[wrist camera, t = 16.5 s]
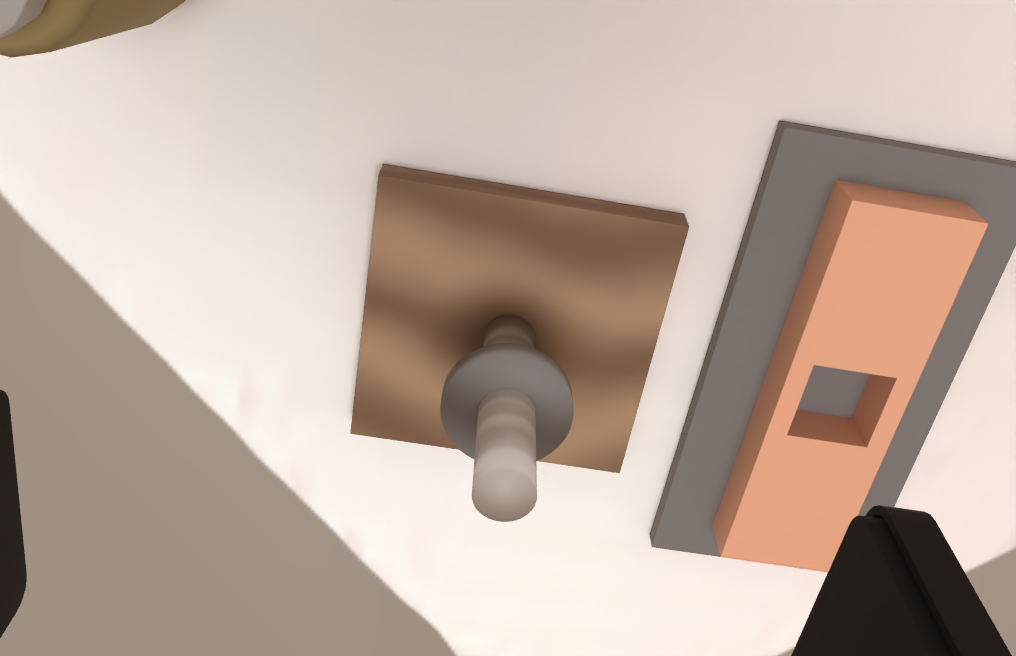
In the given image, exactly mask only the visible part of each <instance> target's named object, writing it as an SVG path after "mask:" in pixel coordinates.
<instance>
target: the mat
mask: <svg viewBox="0 0 1016 656" xmlns="http://www.w3.org/2000/svg"><path fill="white" fill-rule="evenodd" d="M835 180H841V181H847V182H853V183H858V184H864V185H870V186H876V187H881V188H887V189H893V190H899V191H905V192H910V193H916V194H922V195H928V196H933V197H939V198H945V199H951V200H956V201H962V202H965V203H967V204H968V205H969V206H970V207H971V208H972V209H973V210H974V211H975V212H976V213H977V214H979V215H980V216H981V217H982V218H983V219H984V220H985V221H986V222H987V223H988V226H987V228H986V231H985V233H984V235H983V237H982V240H981V242H980V244H979V246H978V248H977V251H976V253H975V255H974V257H973V260H972V262H971V264H970V266H969V269H968V271H967V273H966V275H965V277H964V280H963V282H962V284H961V286H960V289H959V291H958V293H957V295H956V298H955V300H954V302H953V304H952V306H951V309H950V311H949V313H948V315H947V318H946V320H945V322H944V324H943V326H942V329H941V331H940V333H939V335H938V338H937V340H936V342H935V344H934V347H933V349H932V351H931V353H930V355H929V358H928V360H927V362H926V364H925V367H924V369H923V371H922V373H921V376H920V378H919V380H918V382H917V384H916V387H915V389H914V391H913V393H912V396H911V398H910V400H909V402H908V404H907V407H906V409H905V411H904V413H903V416H902V418H901V420H900V422H899V425H898V427H897V429H896V431H895V433H894V436H893V438H892V440H891V442H890V445H889V447H888V449H887V451H886V454H885V456H884V458H883V460H882V462H881V465H880V467H879V469H878V471H877V474H876V476H875V478H874V480H873V482H872V485H871V487H870V489H869V491H868V494H867V496H866V498H865V500H864V503H863V505H862V507H861V509H860V511H859V514H858V516H859V515H861V516H866V514H867V512H868V511H869V510H870V509H871V508H872V507H873V506H878V505H881V506H888V507H894V506H895V504H896V502H897V499H898V497H899V495H900V493H901V491H902V489H903V486H904V484H905V482H906V480H907V478H908V476H909V474H910V471H911V469H912V467H913V465H914V463H915V461H916V459H917V456H918V454H919V452H920V450H921V448H922V446H923V444H924V441H925V439H926V437H927V435H928V433H929V431H930V429H931V426H932V424H933V422H934V420H935V418H936V416H937V413H938V411H939V409H940V407H941V405H942V403H943V401H944V398H945V396H946V394H947V392H948V390H949V388H950V386H951V383H952V381H953V379H954V377H955V375H956V373H957V371H958V368H959V366H960V364H961V362H962V360H963V358H964V355H965V353H966V351H967V349H968V347H969V345H970V343H971V340H972V338H973V336H974V334H975V332H976V330H977V328H978V325H979V323H980V321H981V319H982V317H983V315H984V313H985V310H986V308H987V306H988V304H989V302H990V300H991V297H992V295H993V293H994V291H995V289H996V287H997V285H998V282H999V280H1000V278H1001V276H1002V274H1003V272H1004V270H1005V267H1006V265H1007V263H1008V261H1009V259H1010V257H1011V255H1012V252H1013V250H1014V248H1015V246H1016V162H1014V161H1009V160H1003V159H997V158H991V157H986V156H980V155H974V154H968V153H963V152H957V151H951V150H945V149H940V148H934V147H928V146H922V145H917V144H911V143H905V142H899V141H894V140H888V139H882V138H876V137H871V136H865V135H859V134H853V133H848V132H842V131H836V130H830V129H825V128H819V127H813V126H807V125H802V124H796V123H790V122H784V121H779V124H778V127H777V131H776V134H775V137H774V140H773V143H772V147H771V150H770V153H769V156H768V159H767V163H766V166H765V169H764V172H763V175H762V178H761V182H760V185H759V188H758V191H757V194H756V198H755V201H754V204H753V207H752V210H751V214H750V217H749V220H748V223H747V226H746V230H745V233H744V236H743V239H742V242H741V245H740V249H739V252H738V255H737V258H736V261H735V265H734V268H733V271H732V274H731V277H730V281H729V284H728V287H727V290H726V293H725V297H724V300H723V303H722V306H721V309H720V312H719V316H718V319H717V322H716V325H715V328H714V332H713V335H712V338H711V341H710V344H709V348H708V351H707V354H706V357H705V360H704V364H703V367H702V370H701V373H700V376H699V379H698V383H697V386H696V389H695V392H694V395H693V399H692V402H691V405H690V408H689V411H688V415H687V418H686V421H685V424H684V427H683V431H682V434H681V437H680V440H679V443H678V446H677V450H676V453H675V456H674V459H673V462H672V466H671V469H670V472H669V475H668V478H667V482H666V485H665V488H664V491H663V494H662V498H661V501H660V504H659V507H658V510H657V513H656V517H655V520H654V523H653V526H652V529H651V533H650V539H651V545H652V547H655V548H662V549H669V550H676V551H683V552H691V553H698V554H705V555H712V556H719V557H721V556H720V552H719V548H718V545H717V541H716V537H715V533H714V529H713V522H714V519H715V516H716V514H717V511H718V508H719V505H720V502H721V499H722V497H723V494H724V491H725V488H726V485H727V483H728V480H729V477H730V474H731V471H732V469H733V466H734V463H735V460H736V457H737V455H738V452H739V449H740V446H741V443H742V441H743V438H744V435H745V432H746V429H747V427H748V424H749V421H750V418H751V415H752V413H753V410H754V407H755V404H756V401H757V399H758V396H759V393H760V390H761V387H762V384H763V382H764V379H765V376H766V373H767V370H768V368H769V365H770V362H771V359H772V356H773V354H774V351H775V348H776V345H777V342H778V340H779V337H780V334H781V331H782V328H783V326H784V323H785V320H786V317H787V314H788V312H789V309H790V306H791V303H792V300H793V298H794V295H795V292H796V289H797V286H798V284H799V281H800V278H801V275H802V272H803V269H804V267H805V264H806V261H807V258H808V255H809V253H810V250H811V247H812V244H813V241H814V239H815V236H816V233H817V230H818V227H819V225H820V222H821V219H822V216H823V213H824V211H825V208H826V205H827V202H828V199H829V197H830V194H831V191H832V188H833V185H834V183H835ZM869 375H870V374H868V373H862V372H855V371H849V370H843V369H837V368H830V367H824V366H818V365H814V366H813V368H812V371H811V374H810V376H809V379H808V381H807V384H806V387H805V389H804V392H803V395H802V397H801V400H800V402H799V405H798V408H797V410H802V411H809V412H815V413H822V414H828V415H834V416H841V417H847V418H852V416H853V414H854V411H855V409H856V406H857V404H858V402H859V399H860V397H861V394H862V392H863V390H864V387H865V385H866V382H867V380H868V378H869Z"/></svg>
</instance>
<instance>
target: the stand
mask: <svg viewBox="0 0 1016 656" xmlns="http://www.w3.org/2000/svg"><path fill="white" fill-rule="evenodd" d="M688 229H689V225H688V223H687V220H686V218H685V215H684V214H680V213H674V212H668V211H662V210H656V209H650V208H644V207H638V206H632V205H626V204H620V203H614V202H608V201H602V200H596V199H590V198H584V197H578V196H572V195H566V194H560V193H554V192H548V191H542V190H536V189H530V188H524V187H518V186H512V185H506V184H500V183H494V182H488V181H482V180H476V179H470V178H464V177H458V176H452V175H446V174H440V173H434V172H428V171H421V170H415V169H409V168H403V167H397V166H391V165H385V164H383V166H382V168H381V171H380V173H379V177H378V186H377V195H376V204H375V213H374V223H373V232H372V241H371V250H370V259H369V268H368V278H367V287H366V296H365V305H364V314H363V323H362V332H361V342H360V351H359V360H358V369H357V378H356V387H355V397H354V406H353V415H352V424H351V433H350V434H357V435H364V436H370V437H377V438H384V439H391V440H398V441H404V442H411V443H418V444H425V445H432V446H438V447H445V448H452V449H459V450H461V451H462V452H463V453H465V454H466V455H468V456H469V457H471V458H473V459H475V461H474V474H473V487H472V500H473V503H474V506H475V507H476V509H477V510H478V511H479V512H480V513H481V514H482V515H484V516H485V517H487V518H489V519H492V520H495V521H502V522H508V521H514V520H518V519H520V518H522V517H524V516H526V515H527V514H528V513H529V512H530V511H531V510H532V509H533V508H534V506H535V503H536V500H537V480H536V461H541V462H548V463H554V464H561V465H568V466H575V467H582V468H588V469H595V470H602V471H609V472H616V473H620V470H621V466H622V463H623V459H624V456H625V452H626V448H627V445H628V441H629V438H630V434H631V431H632V427H633V424H634V420H635V417H636V413H637V409H638V406H639V402H640V399H641V395H642V392H643V388H644V385H645V381H646V378H647V374H648V370H649V367H650V363H651V360H652V356H653V353H654V349H655V346H656V342H657V339H658V335H659V331H660V328H661V324H662V321H663V317H664V314H665V310H666V307H667V303H668V300H669V296H670V292H671V289H672V285H673V282H674V278H675V275H676V271H677V268H678V264H679V261H680V257H681V254H682V250H683V246H684V243H685V239H686V236H687V232H688Z"/></svg>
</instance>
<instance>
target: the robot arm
mask: <svg viewBox="0 0 1016 656" xmlns="http://www.w3.org/2000/svg"><path fill="white" fill-rule="evenodd" d="M25 588H26V564H25V554H24V544H23V535H22V524H21V515H20V504H19V494H18V485H17V474H16V464H15V454H14V444H13V434H12V424H11V414H10V404H9V399H8V396H7V394H6V392H4V391H2V390H0V638H1V636H2V634H3V633H4V631H5V630H6V628H7V626H8V625H9V623H10V622H11V620H12V618H13V617H14V615H15V614H16V612H17V610H18V608H19V606H20V604H21V601H22V598H23V595H24V591H25ZM791 656H1012V655H1011V654H1010V652H1009V650H1008V648H1007V646H1006V645H1005V643H1004V641H1003V639H1002V638H1001V636H1000V634H999V632H998V631H997V629H996V627H995V625H994V623H993V622H992V620H991V618H990V616H989V615H988V613H987V611H986V609H985V608H984V606H983V604H982V602H981V601H980V599H979V597H978V595H977V593H976V592H975V590H974V588H973V586H972V585H971V583H970V581H969V579H968V578H967V576H966V574H965V572H964V571H963V569H962V567H961V565H960V563H959V562H958V560H957V558H956V556H955V555H954V553H953V551H952V549H951V548H950V546H949V544H948V542H947V541H946V539H945V537H944V535H943V533H942V532H941V530H940V528H939V526H938V525H937V523H936V521H935V520H934V519H933V517H932V516H931V515H930V514H928V513H926V512H922V511H916V510H909V509H902V508H895V507H888V506H881V505H878V506H873V507H872V508H871V509H870V510H869V511H868V512H867V514H866V516H861V515H859V516H856V517H855V518H853V519H852V521H851V523H850V524H849V526H848V528H847V531H846V533H845V535H844V538H843V540H842V542H841V544H840V547H839V549H838V551H837V553H836V556H835V558H834V560H833V562H832V565H831V567H830V569H829V572H828V574H827V576H826V578H825V581H824V583H823V585H822V587H821V590H820V592H819V594H818V596H817V599H816V601H815V603H814V606H813V608H812V610H811V612H810V615H809V617H808V619H807V621H806V624H805V626H804V628H803V630H802V633H801V635H800V637H799V640H798V642H797V644H796V646H795V649H794V651H793V653H792V655H791Z"/></svg>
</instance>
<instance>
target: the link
mask: <svg viewBox="0 0 1016 656" xmlns="http://www.w3.org/2000/svg"><path fill="white" fill-rule="evenodd" d="M987 226H988V223H987V222H986V221H985V220H984V219H983V218H982V217H981V216H980V215H979V214H977V213H976V212H975V211H974V210H973V209H972V208H971V207H970V206H969V205H968V204H967V203H965V202H962V201H956V200H951V199H945V198H939V197H933V196H928V195H922V194H916V193H910V192H905V191H899V190H893V189H887V188H881V187H876V186H870V185H864V184H858V183H853V182H847V181H841V180H835V183H834V185H833V188H832V191H831V194H830V197H829V199H828V202H827V205H826V208H825V211H824V213H823V216H822V219H821V222H820V225H819V227H818V230H817V233H816V236H815V239H814V241H813V244H812V247H811V250H810V253H809V255H808V258H807V261H806V264H805V267H804V269H803V272H802V275H801V278H800V281H799V284H798V286H797V289H796V292H795V295H794V298H793V300H792V303H791V306H790V309H789V312H788V314H787V317H786V320H785V323H784V326H783V328H782V331H781V334H780V337H779V340H778V342H777V345H776V348H775V351H774V354H773V356H772V359H771V362H770V365H769V368H768V370H767V373H766V376H765V379H764V382H763V384H762V387H761V390H760V393H759V396H758V399H757V401H756V404H755V407H754V410H753V413H752V415H751V418H750V421H749V424H748V427H747V429H746V432H745V435H744V438H743V441H742V443H741V446H740V449H739V452H738V455H737V457H736V460H735V463H734V466H733V469H732V471H731V474H730V477H729V480H728V483H727V485H726V488H725V491H724V494H723V497H722V499H721V502H720V505H719V508H718V511H717V514H716V516H715V519H714V522H713V529H714V533H715V537H716V541H717V545H718V548H719V552H720V556H721V557H725V558H732V559H739V560H746V561H753V562H760V563H767V564H774V565H781V566H788V567H795V568H801V569H808V570H815V571H822V572H829V569H830V567H831V565H832V562H833V560H834V558H835V556H836V553H837V551H838V549H839V547H840V544H841V542H842V540H843V538H844V535H845V533H846V531H847V528H848V526H849V524H850V523H851V521H852V519H853V518H855V517H856V516H858V514H859V511H860V509H861V507H862V505H863V503H864V500H865V498H866V496H867V494H868V491H869V489H870V487H871V485H872V482H873V480H874V478H875V476H876V474H877V471H878V469H879V467H880V465H881V462H882V460H883V458H884V456H885V454H886V451H887V449H888V447H889V445H890V442H891V440H892V438H893V436H894V433H895V431H896V429H897V427H898V425H899V422H900V420H901V418H902V416H903V413H904V411H905V409H906V407H907V404H908V402H909V400H910V398H911V396H912V393H913V391H914V389H915V387H916V384H917V382H918V380H919V378H920V376H921V373H922V371H923V369H924V367H925V364H926V362H927V360H928V358H929V355H930V353H931V351H932V349H933V347H934V344H935V342H936V340H937V338H938V335H939V333H940V331H941V329H942V326H943V324H944V322H945V320H946V318H947V315H948V313H949V311H950V309H951V306H952V304H953V302H954V300H955V298H956V295H957V293H958V291H959V289H960V286H961V284H962V282H963V280H964V277H965V275H966V273H967V271H968V269H969V266H970V264H971V262H972V260H973V257H974V255H975V253H976V251H977V248H978V246H979V244H980V242H981V240H982V237H983V235H984V233H985V231H986V228H987ZM814 365H818V366H824V367H830V368H837V369H843V370H849V371H855V372H862V373H868V374H870V375H869V378H868V380H867V382H866V385H865V387H864V390H863V392H862V394H861V397H860V399H859V402H858V404H857V406H856V409H855V411H854V414H853V416H852V418H847V417H841V416H834V415H828V414H822V413H815V412H809V411H802V410H797V408H798V405H799V402H800V400H801V397H802V395H803V392H804V389H805V387H806V384H807V381H808V379H809V376H810V374H811V371H812V368H813V366H814Z"/></svg>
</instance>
